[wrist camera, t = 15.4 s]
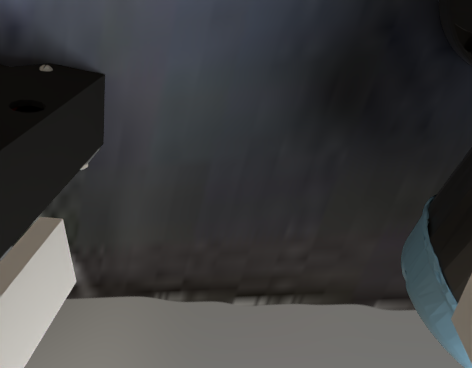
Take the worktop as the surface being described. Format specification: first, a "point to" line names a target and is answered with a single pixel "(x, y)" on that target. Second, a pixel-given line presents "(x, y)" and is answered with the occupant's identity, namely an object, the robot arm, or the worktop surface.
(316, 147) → the worktop surface
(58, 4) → the worktop surface
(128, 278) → the worktop surface
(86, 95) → the electrical component
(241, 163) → the worktop surface
